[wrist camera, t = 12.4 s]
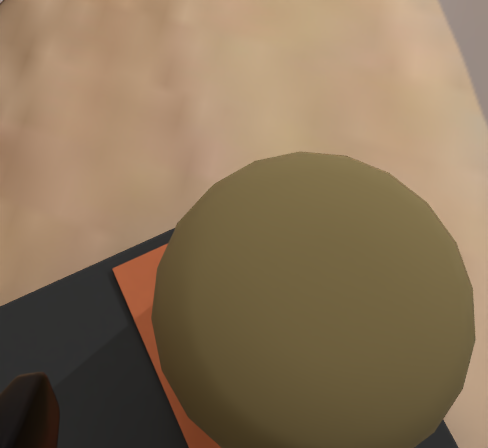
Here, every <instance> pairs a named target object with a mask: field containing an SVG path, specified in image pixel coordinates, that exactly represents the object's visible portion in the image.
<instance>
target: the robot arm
mask: <svg viewBox="0 0 488 448" xmlns="http://www.w3.org/2000/svg"><path fill="white" fill-rule="evenodd" d="M59 423H60V409H59V404H58V401H57V399H56V396H55V394H54V391H53V389H52V386H51V384H50V381H49V379H48V376H47V375H46V374H45V373H44V372H35V373H28V374H22V375H19V376H17V377H16V378H14V379H13V380H12V382H11V383H10V384H9V385H8V386H7V387H6V388H5V389H4V390H3V392H2V393H1V394H0V448H57V445H58V434H59Z"/></svg>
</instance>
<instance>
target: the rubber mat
mask: <svg viewBox="0 0 488 448" xmlns="http://www.w3.org/2000/svg"><path fill="white" fill-rule="evenodd" d="M174 230H175V228H174V229H172V230H169V231H167V232H165V233H163V234H160V235H158V236H156V237H154V238H152V239H149V240H147V241H145V242H143V243H140V244H138V245H136V246H134V247H132V248H129V249H127V250H125V251H123V252H120V253H118V254H116V255H114V256H112V257H109V258H107V259H105V260H103V261H100V262H98V263H96V264H94V265H92V266H89V267H87V268H85V269H83V270H80V271H78V272H76V273H74V274H72V275H69V276H67V277H65V278H63V279H60V280H58V281H56V282H54V283H52V284H49V285H47V286H45V287H43V288H40V289H38V290H36V291H34V292H32V293H29V294H27V295H25V296H23V297H20V298H18V299H16V300H14V301H12V302H9V303H7V304H5V305H3V306H0V394H1V393H2V392H3V390H4V389H5V388H6V387H7V386H8V385H9V384H10V383H11V382H12V380H13V379H14V378H16V377H17V376H19V375H22V374H28V373H35V372H44V373H45V374H46V375H47V376H48V379H49V381H50V384H51V386H52V389H53V391H54V394H55V396H56V399H57V401H58V404H59V409H60V423H59V434H58V445H57V448H221V447H220V446H219V445H218V444H217V443H216V442H215V441H214V440H212V439H211V438H210V437H209V436H208V435H207V434H206V433H205V432H204V431H203V430H201V429H200V428H199V427H198V426H197V425H196V424H195V423H194V422H193V421H191V420H190V419H189V418H188V416H187V415H186V413H185V411H184V409H183V407H182V406H181V404H180V402H179V400H178V399H177V397H176V395H175V393H174V391H173V390H172V388H171V386H170V384H169V383H168V381H167V379H166V377H165V375H164V374H163V372H162V370H161V365H160V360H159V355H158V350H157V345H156V340H155V335H154V330H153V325H152V320H151V316H152V307H153V299H154V290H155V282H156V273H157V267H158V265H159V263H160V260H161V258H162V256H163V254H164V252H165V250H166V247H167V245H168V243H169V241H170V239H171V236H172V234H173V232H174ZM414 448H458V446H457V444H456V442H455V440H454V439H453V437H452V435H451V433H450V431H449V429H448V427H447V426H446V424H445V422H444V420H442V421H441V423H440V424H439V426H438V428H437V429H436V431H435V432H434V433H433V434H431V435H430V436H429V437H428V438H426V439H425V440H424V441H422V442H421V443H420V444H418V445H417V446H416V447H414Z"/></svg>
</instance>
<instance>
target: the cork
mask: <svg viewBox="0 0 488 448" xmlns="http://www.w3.org/2000/svg"><path fill="white" fill-rule="evenodd" d="M151 320H152V325H153V330H154V335H155V340H156V345H157V350H158V355H159V360H160V365H161V370H162V372H163V374H164V375H165V377H166V379H167V381H168V383H169V384H170V386H171V388H172V390H173V391H174V393H175V395H176V397H177V399H178V400H179V402H180V404H181V406H182V407H183V409H184V411H185V413H186V415H187V416H188V418H189V419H190V420H191V421H193V422H194V423H195V424H196V425H197V426H198V427H199V428H200V429H201V430H203V431H204V432H205V433H206V434H207V435H208V436H209V437H210V438H211V439H212V440H214V441H215V442H216V443H217V444H218V445H219V446H220V447H221V448H414V447H416V446H417V445H418V444H420V443H421V442H422V441H424V440H425V439H426V438H428V437H429V436H430V435H431V434H433V433H434V432H435V431H436V429H437V428H438V426H439V424H440V423H441V421H442V420H443V418H444V417H445V415H446V414H447V412H448V411H449V409H450V408H451V406H452V405H453V403H454V401H455V400H456V398H457V397H458V395H459V394H460V392H461V391H462V389H463V386H464V382H465V378H466V374H467V370H468V366H469V363H470V359H471V355H472V351H473V347H474V343H475V322H474V303H473V288H472V285H471V282H470V280H469V277H468V274H467V271H466V268H465V266H464V263H463V260H462V257H461V255H460V252H459V249H458V246H457V244H456V242H455V240H454V239H453V237H452V236H451V235H450V233H449V232H448V231H447V229H446V228H445V226H444V225H443V224H442V222H441V221H440V220H439V218H438V217H437V215H436V214H435V213H434V211H433V210H432V209H431V207H430V206H429V204H428V203H427V202H426V201H424V200H423V199H422V198H421V197H419V196H418V195H417V194H415V193H414V192H413V191H412V190H410V189H409V188H408V187H406V186H405V185H404V184H403V183H401V182H400V181H399V180H398V179H396V178H395V177H394V176H392V175H391V174H390V173H388V172H385V171H383V170H380V169H378V168H375V167H373V166H370V165H368V164H365V163H363V162H360V161H358V160H355V159H353V158H350V157H348V156H342V155H331V154H321V153H310V152H296V153H291V154H286V155H282V156H277V157H272V158H267V159H262V160H258V161H254V162H252V163H251V164H249V165H247V166H245V167H244V168H242V169H240V170H238V171H237V172H235V173H233V174H231V175H229V176H228V177H226V178H224V179H222V180H221V181H219V182H217V183H215V184H214V185H213V186H212V187H211V188H210V189H209V190H208V191H207V192H206V193H205V194H204V195H203V196H202V197H201V198H200V200H199V201H198V202H197V203H196V204H195V205H194V206H193V207H192V208H191V209H190V210H189V211H188V213H187V214H186V215H185V216H184V217H183V218H182V219H181V220H180V221H179V222H178V223H177V226H176V228H175V230H174V232H173V234H172V236H171V239H170V241H169V243H168V245H167V247H166V250H165V252H164V254H163V256H162V258H161V260H160V263H159V265H158V267H157V273H156V282H155V290H154V299H153V307H152V316H151Z"/></svg>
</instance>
